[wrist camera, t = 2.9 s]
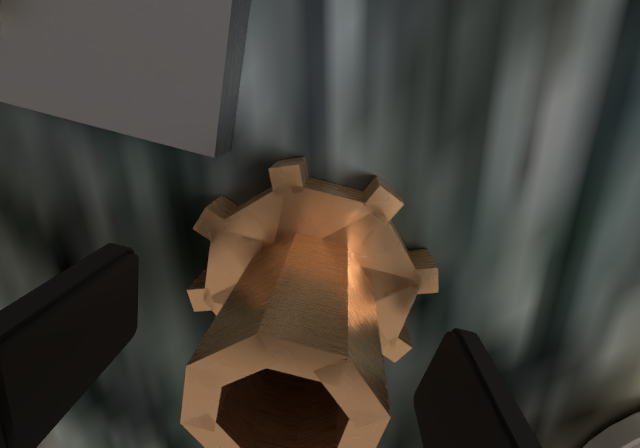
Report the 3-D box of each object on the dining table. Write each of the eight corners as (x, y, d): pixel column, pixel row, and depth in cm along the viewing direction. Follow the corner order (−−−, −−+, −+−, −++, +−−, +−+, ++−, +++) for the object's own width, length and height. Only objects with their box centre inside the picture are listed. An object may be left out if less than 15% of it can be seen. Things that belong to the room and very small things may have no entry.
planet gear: (460, 197, 11) (592, 308, 5) (382, 374, 15) (407, 567, 9) (219, 133, 11) (66, 172, 5) (196, 327, 14) (89, 488, 8)
